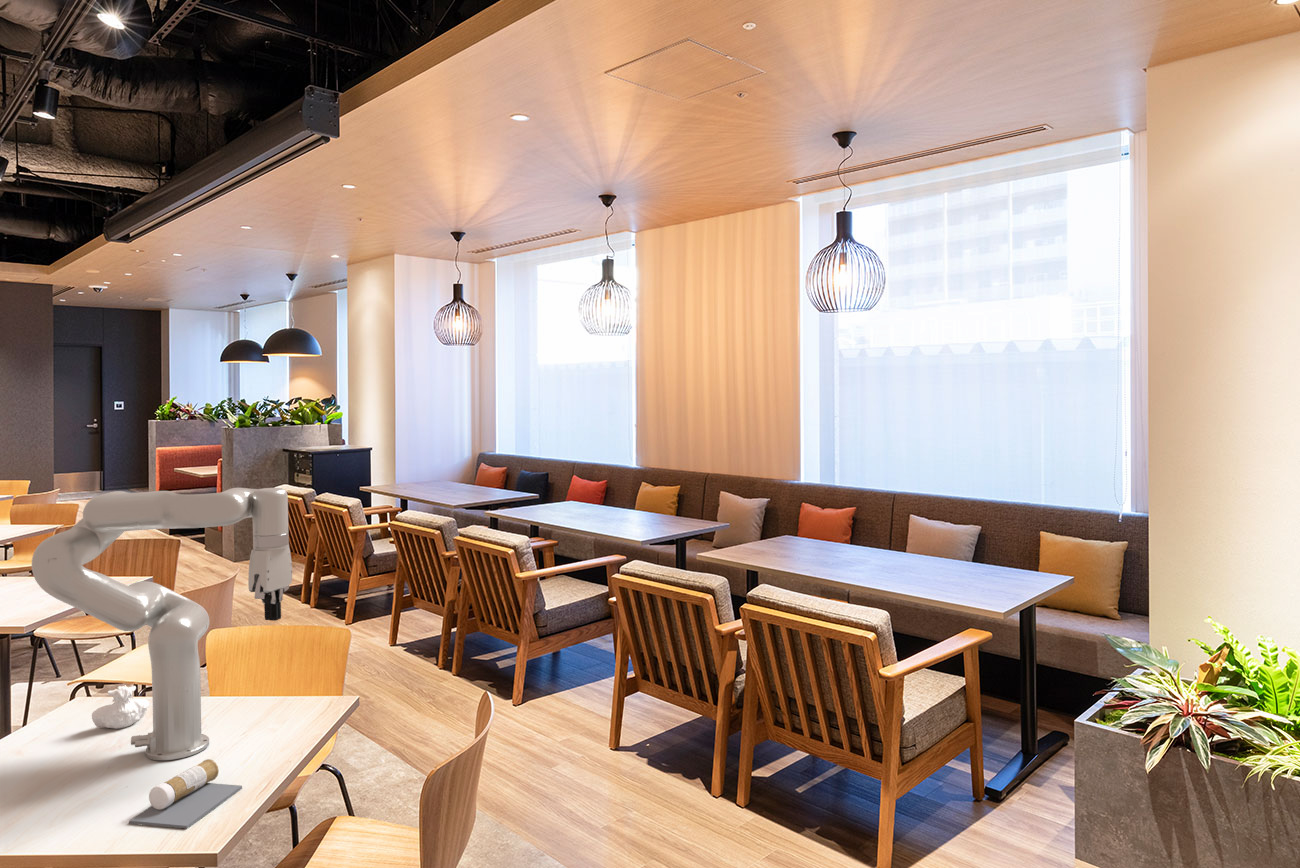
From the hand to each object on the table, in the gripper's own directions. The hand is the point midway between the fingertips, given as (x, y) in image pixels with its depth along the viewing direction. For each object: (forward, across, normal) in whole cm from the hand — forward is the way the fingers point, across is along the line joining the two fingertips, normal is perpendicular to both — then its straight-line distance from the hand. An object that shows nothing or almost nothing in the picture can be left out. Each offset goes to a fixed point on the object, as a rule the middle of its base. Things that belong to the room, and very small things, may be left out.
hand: (272, 619), depth 189 cm
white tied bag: (+29, +1, -42) cm, 51 cm away
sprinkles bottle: (+26, +21, +1) cm, 33 cm away
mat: (+29, +31, +3) cm, 42 cm away
